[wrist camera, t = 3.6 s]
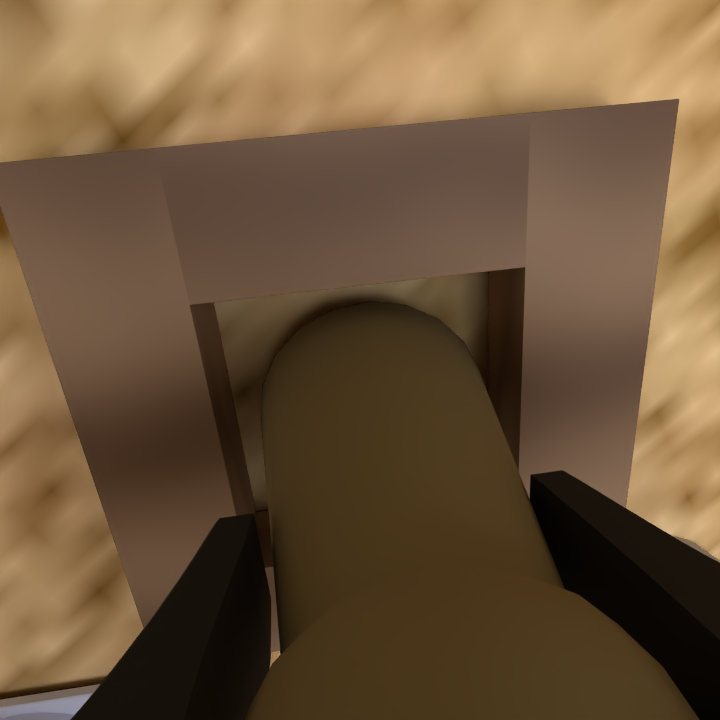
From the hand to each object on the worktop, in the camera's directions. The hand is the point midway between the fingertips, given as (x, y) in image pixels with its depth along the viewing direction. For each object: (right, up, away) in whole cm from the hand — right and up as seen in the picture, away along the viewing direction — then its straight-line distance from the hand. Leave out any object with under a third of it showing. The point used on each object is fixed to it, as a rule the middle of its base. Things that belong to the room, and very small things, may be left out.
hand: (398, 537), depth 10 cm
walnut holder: (-1, +2, +6) cm, 6 cm away
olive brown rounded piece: (0, +2, +5) cm, 5 cm away
